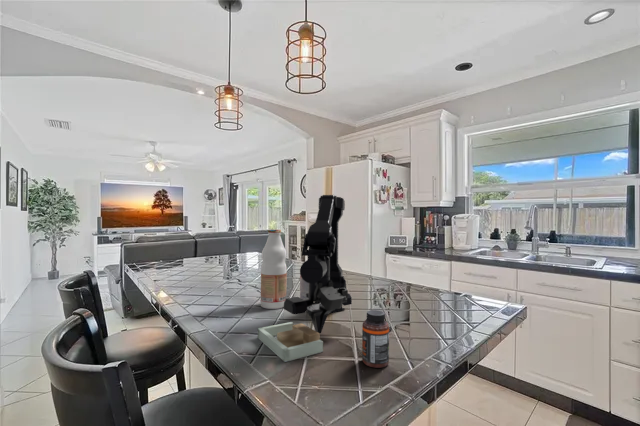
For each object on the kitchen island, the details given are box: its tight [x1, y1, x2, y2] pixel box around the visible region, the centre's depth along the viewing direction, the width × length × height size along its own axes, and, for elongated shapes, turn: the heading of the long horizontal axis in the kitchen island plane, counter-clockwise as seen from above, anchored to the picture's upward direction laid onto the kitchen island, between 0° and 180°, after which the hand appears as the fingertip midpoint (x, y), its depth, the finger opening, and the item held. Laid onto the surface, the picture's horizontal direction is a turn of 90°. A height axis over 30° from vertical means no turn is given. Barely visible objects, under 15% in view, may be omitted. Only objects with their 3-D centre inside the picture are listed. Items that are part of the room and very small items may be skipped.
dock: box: [257, 321, 324, 363], centre depth 78 cm, size 10×16×2 cm, turn 33°
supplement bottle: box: [361, 309, 390, 369], centre depth 69 cm, size 6×6×11 cm
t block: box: [276, 323, 321, 348], centre depth 79 cm, size 9×9×3 cm
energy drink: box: [299, 275, 309, 300], centre depth 118 cm, size 5×5×12 cm
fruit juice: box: [260, 229, 288, 310], centre depth 113 cm, size 9×9×28 cm
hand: (318, 333), depth 83 cm, fingers closed
